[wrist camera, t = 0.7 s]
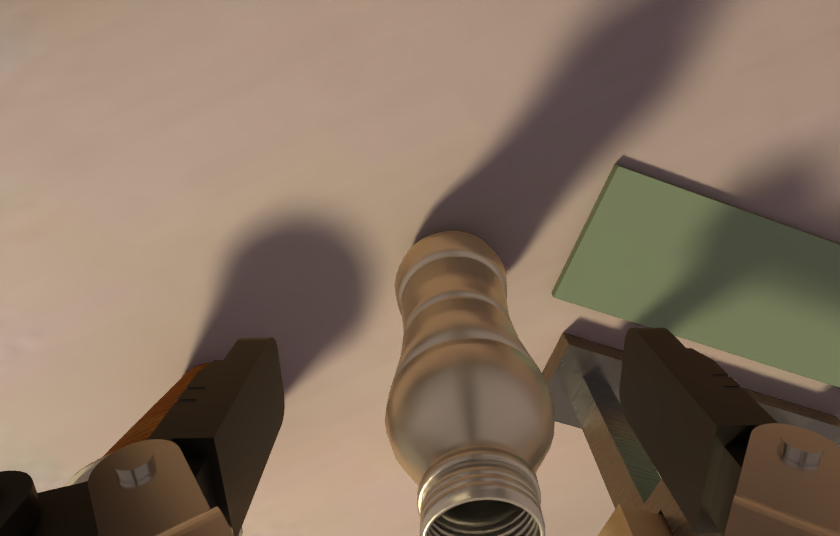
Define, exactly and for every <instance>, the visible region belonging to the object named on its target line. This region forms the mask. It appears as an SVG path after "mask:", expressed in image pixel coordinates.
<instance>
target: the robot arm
mask: <svg viewBox="0 0 840 536" xmlns="http://www.w3.org/2000/svg"><path fill="white" fill-rule="evenodd" d="M619 398H620V404H621V408H622V412H623V414H624V416H625V418H626V420H627V421H628V423H629V425H630V426H631V428H632V430H633V431H634V433H635V435H636V436H637V438H638V440H639V441H640V443H641V445H642V446H643V448H644V450H645V451H646V453H647V455H648V456H649V458H650V460H651V461H652V463H653V465H654V466H655V468H656V470H657V471H658V473H659V475H660V476H661V478H662V480H663V481H664V483H665V485H666V486H667V488H668V490H669V491H670V493H671V495H672V496H673V498H674V500H675V501H676V503H677V505H678V506H679V508H680V510H681V511H682V513H683V514H684V516H685V518H686V519H687V521H688V523H689V524H690V526H691V528H692V529H693V531H694V533H695V534H701V533H722V535H723V536H840V446H838V445H837V444H835V443H834V442H832V441H831V440H829V439H828V438H826V437H824V436H822V435H820V434H818V433H815V432H813V431H810V430H807V429H804V428H801V427H797V426H794V425H788V424H780V423H778V422H777V421H775V420H774V419H773V418H772V417H771V416H770V415H769V414H768V413H767V412H766V411H765V410H764V409H763V408H762V407H761V406H760V405H759V404H758V403H757V402H756V401H755V400H754V399H753V398H752V397H751V396H750V395H749V394H748V393H747V392H746V391H745V390H744V389H740V386H739V385H738V384H737V383H736V382H735V381H734V380H733V379H732V378H731V377H728V374H727V373H726V372H725V371H724V370H723V369H722V368H721V367H720V366H719V365H718V364H717V363H716V362H715V361H714V360H712V359H710V358H708V357H707V356H705V355H703V354H701V353H699V352H697V351H696V350H694V349H692V348H685V347H684V346H683V344H682V343H681V342H680V341H679V340H678V339H677V338H676V337H675V336H674V335H673V334H672V333H671V332H670V331H669V330H668V329H667V328H663V327H661V328H631V329H629V330H628V332H627V334H626V338H625V345H624V353H623V362H622V370H621V378H620V386H619ZM283 416H284V392H283V384H282V377H281V370H280V363H279V356H278V349H277V344H276V341H275V339H274V338H272V337H268V338H240V339H238V341H237V342H236V343H235V345H234V346H233V348H232V349H231V351H230V352H229V354H228V355H227V357H226V358H225V359H224V360H215V361H214V362H212V363H211V364H209V365H208V366H206V367H205V368H203V369H202V370H200V371H199V372H198V373H196V375H195V376H194V377H193V379H192V380H191V381H190V383H189V384H188V386H187V387H186V390H184V391H183V392H182V394H181V395H180V396H179V398H178V399H177V403H174V404H173V406H172V407H171V408H170V410H169V411H168V412H167V414H166V415H165V416H164V418H163V419H162V421H161V422H160V423H159V425H158V426H157V427H156V429H155V430H154V431H153V433H152V434H151V435H150V437H149V438H148V439H147V440H144V441H140V442H136V443H133V444H130V445H127V446H125V447H123V448H120V449H119V450H117V451H115V452H113V453H111V454H110V455H108V456H107V457H106V458H104V459H103V460H102V461H101V462H100V463H99V464H98V465H96V467H95V468H94V469H93V470H92V472H91V474H90V476H89V479H88V481H86V482H82V483H78V484H74V485H70V486H65V487H61V488H57V489H53V490H49V491H45V492H40V493H37V491H36V489H35V486H34V483H33V480H32V478H31V477H30V476H29V475H28V474H27V473H24V472H21V471H2V472H0V536H238V534H239V532H240V529H241V527H242V524H243V522H244V519H245V517H246V514H247V511H248V509H249V506H250V504H251V501H252V499H253V496H254V494H255V491H256V489H257V486H258V483H259V481H260V478H261V476H262V473H263V471H264V468H265V466H266V463H267V460H268V458H269V455H270V453H271V450H272V448H273V445H274V443H275V440H276V437H277V435H278V432H279V430H280V427H281V425H282V421H283Z"/></svg>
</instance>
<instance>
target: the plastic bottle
mask: <svg viewBox="0 0 840 536" xmlns="http://www.w3.org/2000/svg"><path fill="white" fill-rule="evenodd" d="M395 294H396V299H397V304H398V307H399V310H400V313H401V316H402V321H403V329H404V336H403V343H402V351H401V357H400V360H399V363H398V366H397V370H396V373H395V376H394V379H393V383H392V386H391V389H390V392H389V396H388V402H387V407H386V415H385V425H386V433H387V436H388V438H389V441H390V444H391V447H392V449H393V452H394V455H395V457H396V459H397V461H398V462H399V464H400V465H401V467H402V468H403V469H404V470H405V472H406V473H407V474H408V475H409V476H410V477H411V478H412V480H413V481H414V482H415V483H416V484H417V485H418V486H419V487H418V497H417V504H418V512H419V515H420V536H545V524H544V520H543V515H542V511H541V507H540V504H541V493H540V488H539V484H538V480H537V477H536V474H535V473H536V472H537V470H538V468H539V466H540V465H541V463H542V461H543V459H544V458H545V456H546V454H547V452H548V451H549V449H550V446H551V443H552V439H553V436H554V421H555V404H554V400H553V395H552V393H551V391H550V389H549V387H548V385H547V383H546V381H545V379H544V377H543V375H542V373H541V371H540V369H539V368H538V367H537V365H536V364H535V362H534V361H533V359H532V358H531V356H530V355H529V353H528V352H527V350H526V349H525V347H524V346H523V344H522V343H521V341H520V340H519V338H518V335H517V333H516V331H515V329H514V327H513V325H512V322H511V320H510V318H509V313H508V307H507V278H506V273H505V268H504V266H503V264H502V262H501V260H500V258H499V256H498V255H497V254H496V253H495V252H494V250H493V249H492V248H491V247H490V246H489V245H488V244H486V243H485V242H484V241H483V240H481V239H480V238H478V237H476V236H474V235H472V234H469V233H466V232H462V231H452V230H451V231H441V232H438V233H434V234H431V235H429V236H427V237H425V238H423V239H421V240H420V241H418V242H417V243H416V244H414V245H413V247H412V248H411V249H410V250H409V251H408V252H407V254H406V255H405V257H404V259H403V260H402V262H401V264H400V266H399V269H398V271H397V274H396V279H395Z"/></svg>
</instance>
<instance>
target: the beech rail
mask: <svg viewBox="0 0 840 536" xmlns="http://www.w3.org/2000/svg"><path fill="white" fill-rule="evenodd" d="M598 536H674V534H673V532H672V530H671V528H670V526H669V524H668V522H667V521H666V519H665V517H664V515H660V514H656V513H652V512H649V511H645V510H641V509H637V508H634V507H630V506H626V505H622V504H619V505H618V506H617V508H616V509H615V511H614V512H613V514H612V515H611V517H610V518H609V520H608V521H607V523H606V524H605V526H604V527H603V529H602V530H601V532H600V533H599V535H598Z"/></svg>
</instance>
